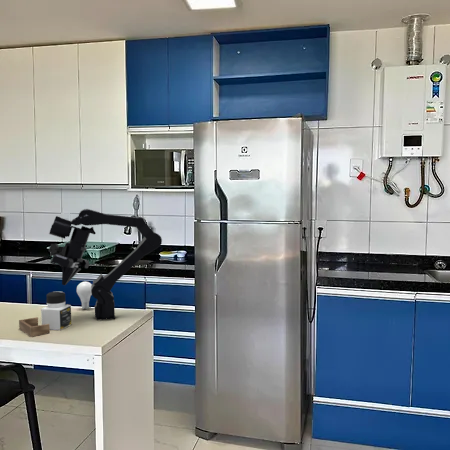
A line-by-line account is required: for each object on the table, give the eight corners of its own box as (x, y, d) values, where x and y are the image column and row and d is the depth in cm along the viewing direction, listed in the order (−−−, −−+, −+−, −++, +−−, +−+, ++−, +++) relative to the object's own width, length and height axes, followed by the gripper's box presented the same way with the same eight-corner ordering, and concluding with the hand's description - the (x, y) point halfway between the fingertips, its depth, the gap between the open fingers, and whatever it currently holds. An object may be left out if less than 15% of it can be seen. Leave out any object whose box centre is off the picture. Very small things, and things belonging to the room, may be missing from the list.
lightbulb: (76, 308, 188) (75, 280, 188) (92, 306, 191) (92, 279, 190) (77, 311, 183) (77, 283, 182) (94, 310, 185) (94, 282, 184)
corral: (37, 325, 164) (37, 317, 164) (49, 333, 155) (49, 324, 155) (19, 328, 160) (19, 320, 160) (30, 336, 151) (30, 327, 151)
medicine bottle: (60, 330, 158) (59, 295, 157) (41, 329, 159) (40, 294, 159) (71, 324, 165) (70, 290, 164) (53, 323, 166) (52, 289, 166)
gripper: (68, 238, 179) (55, 278, 178) (45, 233, 161) (29, 277, 160) (95, 247, 178) (82, 287, 177) (75, 243, 159) (59, 287, 158)
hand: (63, 284), depth 168 cm, fingers closed
